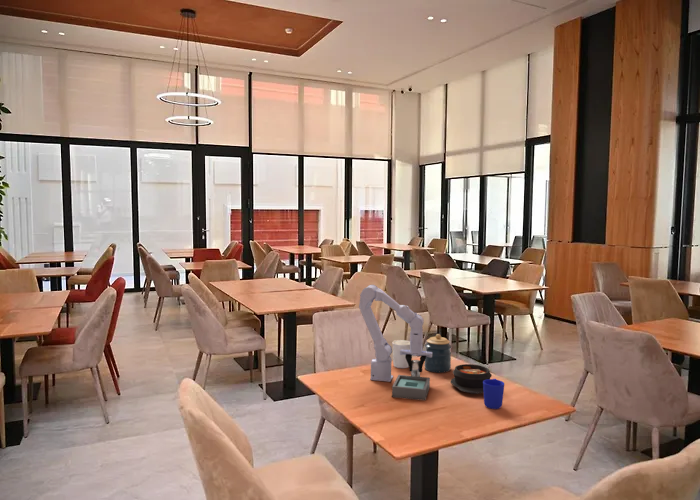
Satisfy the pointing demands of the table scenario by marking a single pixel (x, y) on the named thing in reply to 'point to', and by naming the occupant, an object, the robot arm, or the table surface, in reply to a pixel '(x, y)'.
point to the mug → (493, 393)
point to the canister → (438, 354)
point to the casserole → (470, 378)
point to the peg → (415, 368)
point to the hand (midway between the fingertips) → (415, 371)
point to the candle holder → (399, 359)
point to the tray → (409, 390)
